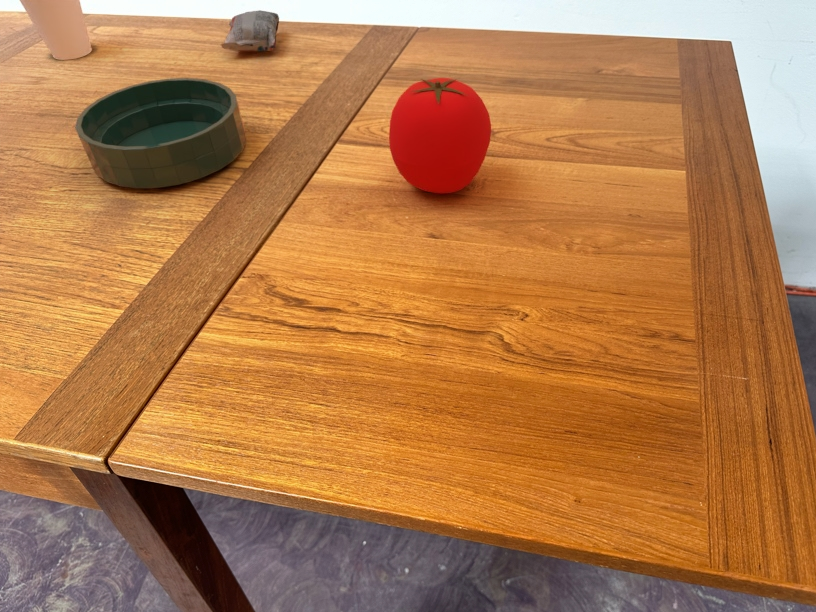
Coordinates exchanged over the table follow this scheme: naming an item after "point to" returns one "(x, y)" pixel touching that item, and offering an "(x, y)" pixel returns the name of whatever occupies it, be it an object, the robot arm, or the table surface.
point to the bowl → (162, 132)
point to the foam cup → (60, 26)
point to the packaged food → (252, 31)
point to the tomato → (439, 135)
